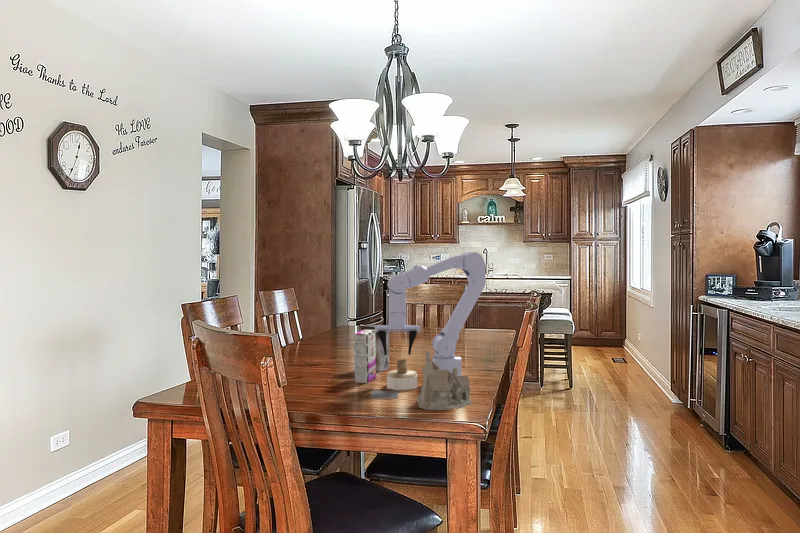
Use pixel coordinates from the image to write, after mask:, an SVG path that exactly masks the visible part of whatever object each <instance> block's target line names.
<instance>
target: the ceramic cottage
mask: <svg viewBox="0 0 800 533" xmlns="http://www.w3.org/2000/svg"><path fill="white" fill-rule="evenodd" d="M424 353H425V354H424V355H425V358H424V359H425V360H424V361H425V364H424V365H423V366H422V368H421V372H422V377H423V379H422V380H423V381H422V383H421V386H420V393H419V394H418V396H417V398H416V403H417V405H418V407H419V408H420V409H422V410H427V411H446V410H447V411H448V410H452V409H455V410H456V409H460V407H461V408H464V407H466V406H469V405H471V404H472V400H471V398H470V396H471V390H472V389H471V385H470V384H471V383H470V378H469V376H468V374H462V375H458V371H457V368H456V367H455V368H453V372H452V373H451V372H450V371H449V370H446V369H445V370H440V369H439V367H438V366H437V365H436V364H435V363H434V362H433V359H432V360H431V358H432V357H431V355H430V351H429V350H427V351H425V352H424Z"/></svg>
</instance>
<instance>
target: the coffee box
mask: <svg viewBox="0 0 800 533" xmlns="http://www.w3.org/2000/svg"><path fill="white" fill-rule="evenodd" d="M378 325H379V324H372V323H371V324H364V325H360V331H362V330H375V326H378ZM375 336H376V372H378V373H379V372H380V373H381V372H383V371H387V370H389V369H390V332H386V346H387V355H384V349H383V345H382V342H381V340H380V338H379V335H378V332H375Z"/></svg>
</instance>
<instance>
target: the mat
mask: <svg viewBox="0 0 800 533" xmlns="http://www.w3.org/2000/svg"><path fill="white" fill-rule="evenodd" d="M398 398H399V390H371V395H370V397H369V399H370V400H373V399H376V400H377V399H381V400H382V399H384V400H385V399H387V400H389V399H390V400H392V399H393V400H395V399H398Z"/></svg>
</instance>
